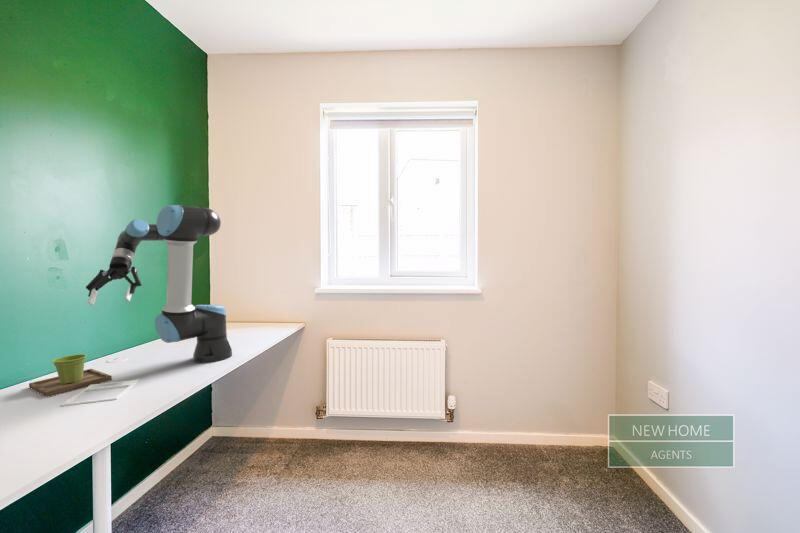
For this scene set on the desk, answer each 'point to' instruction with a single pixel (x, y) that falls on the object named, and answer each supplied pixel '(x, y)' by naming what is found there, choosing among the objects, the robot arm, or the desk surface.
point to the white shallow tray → (100, 387)
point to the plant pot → (70, 368)
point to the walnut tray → (55, 387)
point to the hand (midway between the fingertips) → (109, 301)
